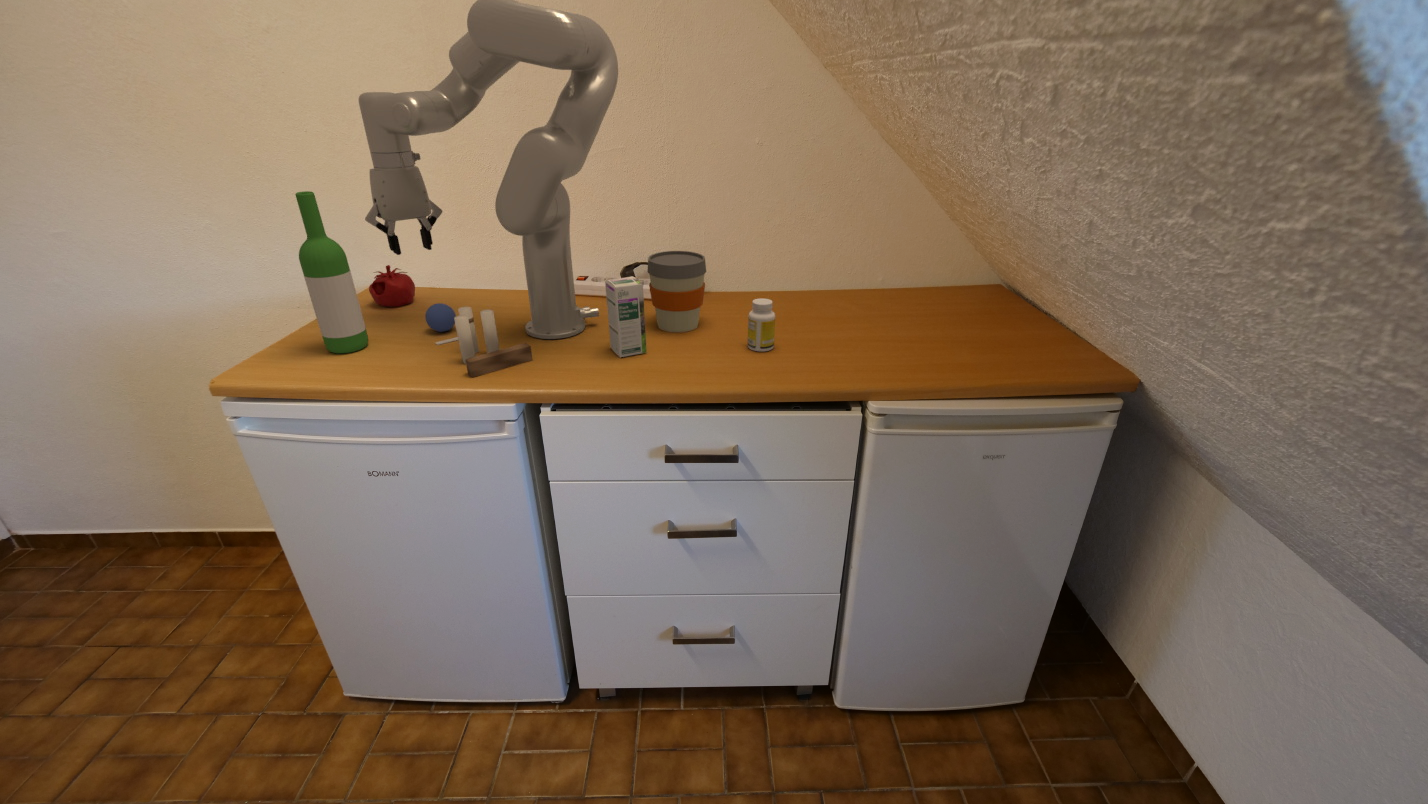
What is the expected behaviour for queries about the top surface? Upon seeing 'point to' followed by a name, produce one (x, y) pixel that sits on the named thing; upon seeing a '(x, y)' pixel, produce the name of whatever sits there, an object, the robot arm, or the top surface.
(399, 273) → the pomegranate
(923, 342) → the top surface
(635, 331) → the syrup box
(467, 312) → the pin front
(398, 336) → the top surface
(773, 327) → the supplement bottle
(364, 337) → the wine bottle
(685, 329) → the reusable coffee cup
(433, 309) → the ball
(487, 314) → the pin back near
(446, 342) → the tape line
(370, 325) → the top surface
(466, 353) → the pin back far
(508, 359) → the back rail
